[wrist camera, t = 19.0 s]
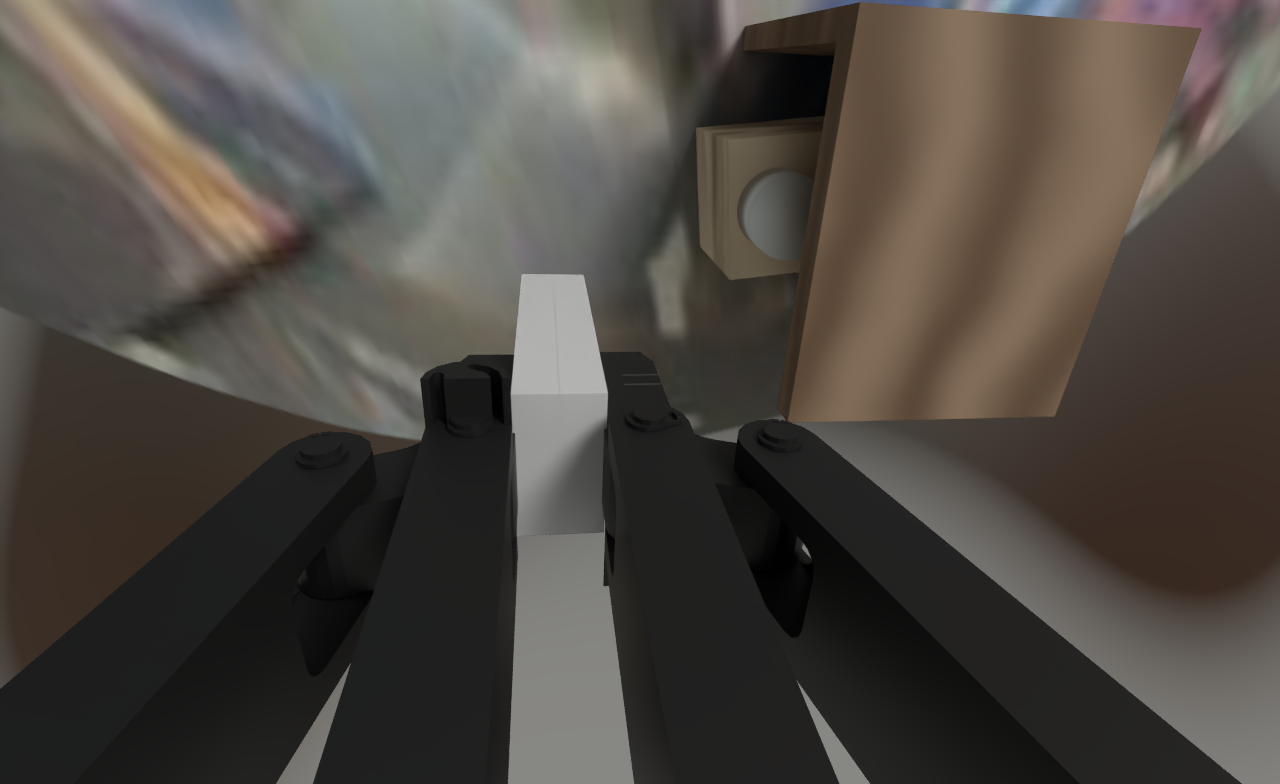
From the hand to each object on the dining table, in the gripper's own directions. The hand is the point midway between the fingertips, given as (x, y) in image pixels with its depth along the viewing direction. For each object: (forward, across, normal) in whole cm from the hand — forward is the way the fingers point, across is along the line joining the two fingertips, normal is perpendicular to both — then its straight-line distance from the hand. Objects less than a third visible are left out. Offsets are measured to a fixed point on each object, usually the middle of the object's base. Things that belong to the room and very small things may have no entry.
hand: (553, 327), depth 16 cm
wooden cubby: (+24, +18, 0) cm, 30 cm away
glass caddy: (+25, +14, 0) cm, 28 cm away
